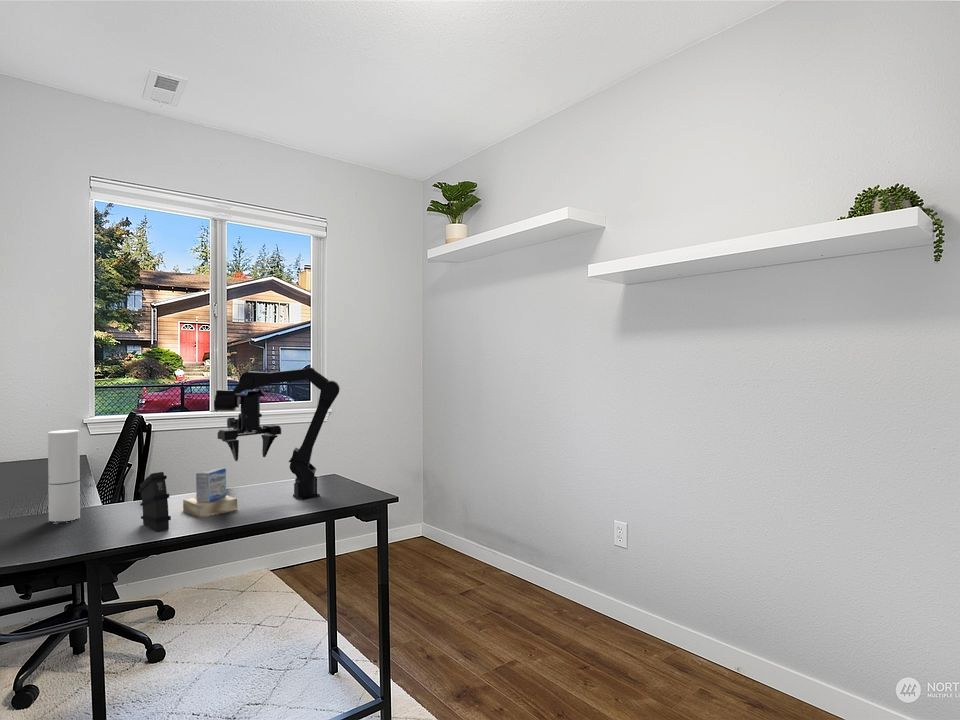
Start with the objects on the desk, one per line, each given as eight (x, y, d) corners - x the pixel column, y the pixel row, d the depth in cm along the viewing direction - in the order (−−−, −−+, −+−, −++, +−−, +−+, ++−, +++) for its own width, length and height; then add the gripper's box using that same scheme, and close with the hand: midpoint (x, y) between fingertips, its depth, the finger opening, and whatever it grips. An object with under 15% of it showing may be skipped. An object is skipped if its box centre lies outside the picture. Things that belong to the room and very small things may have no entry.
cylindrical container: (77, 514, 166) (76, 428, 166) (82, 519, 161) (81, 431, 161) (46, 519, 161) (46, 431, 161) (51, 525, 156) (50, 433, 156)
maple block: (219, 505, 178) (219, 492, 178) (237, 511, 171) (237, 498, 171) (183, 513, 170) (183, 499, 170) (200, 520, 163) (199, 506, 163)
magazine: (159, 529, 147) (150, 473, 151) (144, 540, 155) (135, 487, 159) (175, 525, 150) (165, 471, 154) (159, 537, 158) (150, 485, 162)
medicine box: (209, 503, 166) (208, 473, 166) (195, 502, 167) (195, 472, 167) (226, 496, 174) (226, 468, 174) (213, 495, 175) (213, 467, 175)
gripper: (265, 406, 195) (265, 452, 196) (210, 410, 182) (210, 459, 182) (282, 409, 188) (282, 456, 188) (225, 413, 174) (225, 464, 174)
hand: (250, 458), depth 183 cm, fingers open, 9 cm apart
